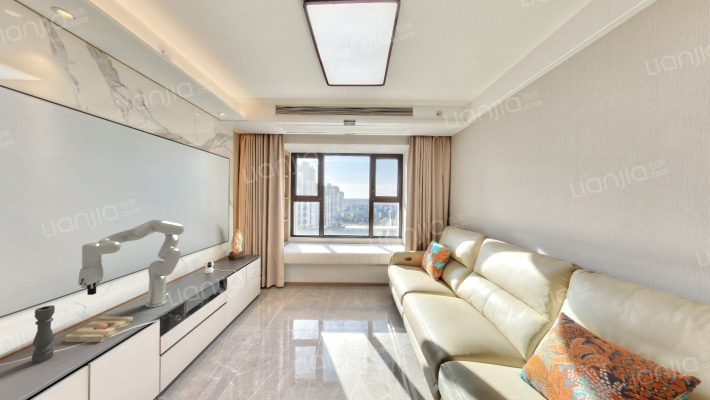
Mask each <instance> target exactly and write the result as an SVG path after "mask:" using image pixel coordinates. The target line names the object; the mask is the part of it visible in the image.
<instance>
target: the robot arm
mask: <svg viewBox="0 0 710 400" xmlns="http://www.w3.org/2000/svg"><path fill="white" fill-rule="evenodd" d="M184 232H185V226H183V225H182V224H181V223H175V222H171V221H166V220H163V219H151V220H149V221H145V222H144V223H142V224H140V225H137V226H135V227H133V228H131V229H127V230H122V231H120V232H116V233H113V234H110V235H108V236H106V237H103V238H102V239H100V240H98V241H97V242H88V243H85V244H83V245H82V247H81V268H80V271H79V272H78V273H79V274H78V283H77V284H78V285H79V286H80V288H81V289H86V290H87V296H92V295H93V296H94V295H96V294H97V287H98V284H99V283H101V281H102V280H103V279H104V268H103V264H102V261H103V259H102V255H109V254H114V253H117V252H119V251H120V250H121V248H122V244H123V243H127V242H132V241H133V242H134V241H138V240H141V239H144V238H145V237H147V236H150V235H151V234H154V233H161V234H164V236H165V239H164V241H163V243H162V245H161V247H160V249H159V251H158V253H157V257H158V258H159V259H161V260H154V261H153V262H151V263H149V265H148V271H147V272H148V282H149V283H148V294H147V295H148V296H147V297H148V298H147V301H146V302H145V303H144V307H145V308H146V307H147V308H157V307H161V306H163V305H166V304H167V303H168V300H169V299H167V298H166V297H167V296H169V293H168V292H167V293H166V287H167V286H166V285H167V277H168V276H170V275H172V274H173V273H174V271H175V269H176V268H177V265H178V263H179V261H180V259H181V256H182V251H181V250H180V249H179V248H177V247H178V244H179V241H180V235H182V234H183V233H184Z"/></svg>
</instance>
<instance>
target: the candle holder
mask: <svg viewBox="0 0 710 400" xmlns="http://www.w3.org/2000/svg"><path fill="white" fill-rule="evenodd" d="M55 309H56V306H55V305H44V306H41V307H37V308H35V310H34V318H35V320H37V321H35V325H37V328H36V329H37V332H36V333H35V336H34V338H33V339H32V340H33V342H32V345H33V346H34V347H35V350H33V352H32V355H31V364H35V365H36V364H40V363H45V362H47V361H49V360H51V359H52V358H53V357H54V353H55V352H54V346H53V345H52V342H53V341H54V339H55V336H54V333H53V330H52V327H51V326H52V322H53V321H54V318H53V315H54V313H55V311H56V310H55Z"/></svg>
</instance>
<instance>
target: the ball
mask: <svg viewBox="0 0 710 400" xmlns="http://www.w3.org/2000/svg"><path fill="white" fill-rule="evenodd" d="M107 328H108V324H107V323H100V324H98V325H97V326H96V328H95V329H107Z"/></svg>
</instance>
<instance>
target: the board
mask: <svg viewBox="0 0 710 400" xmlns="http://www.w3.org/2000/svg"><path fill="white" fill-rule="evenodd" d="M133 322H134V317H133V316H100V317H98V318H96V319H95V320H93V321H91V322H89V323H88V324H85V325H83V326H81V327H80V328H78V329H76V330H74V331H72V332H70V333H68V334H66V335H64V343H66V342H67V343H73V342H74V343H77V342H78V343H79V342H80V343H81V342H83V343H92V342H93V343H101V342H103V341H105V340H107V339H108V338H110V337H111V336H113V335H114V334H116V333H117V332H119V331H120V330H122V329H123V328H126V327H127V326H128V325H130V324H131V323H133ZM100 323H107V324H108V328H107V329H95V328H96V326H97V325H98V324H100Z"/></svg>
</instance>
